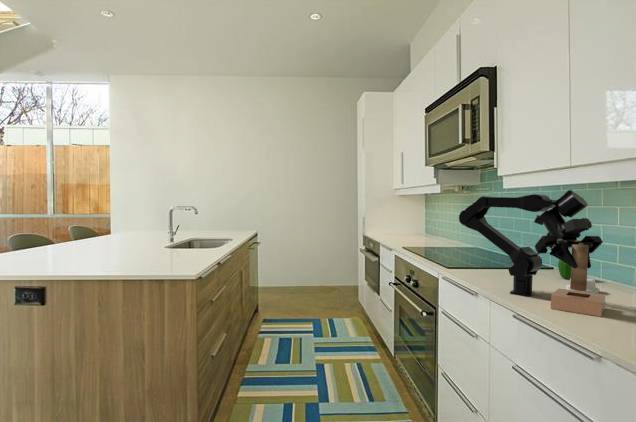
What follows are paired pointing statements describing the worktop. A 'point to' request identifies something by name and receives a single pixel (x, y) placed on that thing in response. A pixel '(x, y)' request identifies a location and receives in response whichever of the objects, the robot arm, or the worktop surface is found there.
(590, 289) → the mechanical component
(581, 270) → the pin
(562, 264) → the bell pepper
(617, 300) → the worktop surface
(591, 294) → the hollow square frame
